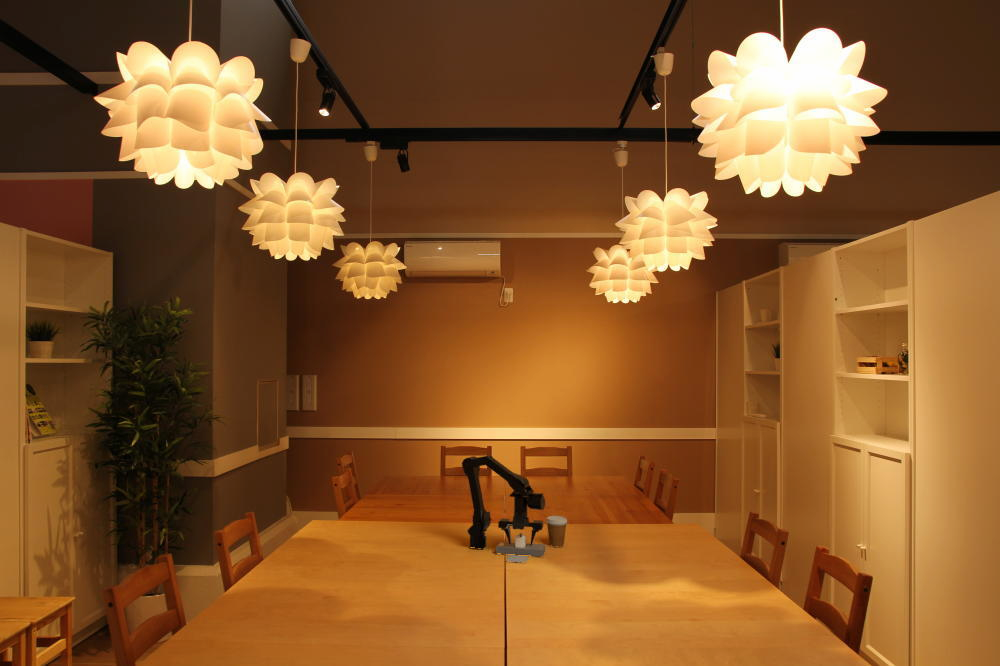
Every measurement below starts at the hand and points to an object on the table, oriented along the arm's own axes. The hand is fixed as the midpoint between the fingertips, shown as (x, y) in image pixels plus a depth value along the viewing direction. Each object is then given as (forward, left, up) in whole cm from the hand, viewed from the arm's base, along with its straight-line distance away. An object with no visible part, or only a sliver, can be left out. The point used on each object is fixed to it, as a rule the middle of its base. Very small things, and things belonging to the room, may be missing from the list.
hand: (520, 544), depth 260 cm
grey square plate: (0, -10, -4) cm, 10 cm away
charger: (0, 0, -4) cm, 4 cm away
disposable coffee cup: (+14, +14, -4) cm, 20 cm away
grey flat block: (0, 0, -4) cm, 4 cm away
